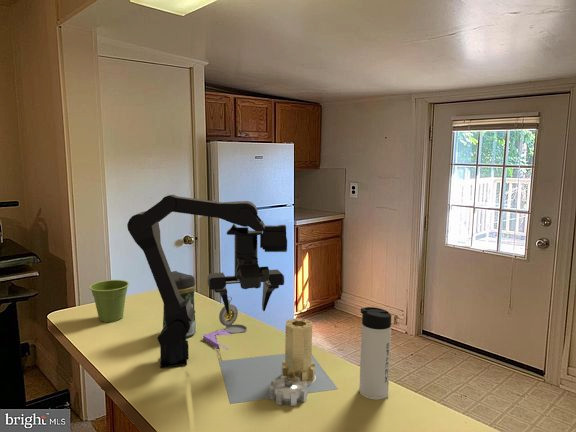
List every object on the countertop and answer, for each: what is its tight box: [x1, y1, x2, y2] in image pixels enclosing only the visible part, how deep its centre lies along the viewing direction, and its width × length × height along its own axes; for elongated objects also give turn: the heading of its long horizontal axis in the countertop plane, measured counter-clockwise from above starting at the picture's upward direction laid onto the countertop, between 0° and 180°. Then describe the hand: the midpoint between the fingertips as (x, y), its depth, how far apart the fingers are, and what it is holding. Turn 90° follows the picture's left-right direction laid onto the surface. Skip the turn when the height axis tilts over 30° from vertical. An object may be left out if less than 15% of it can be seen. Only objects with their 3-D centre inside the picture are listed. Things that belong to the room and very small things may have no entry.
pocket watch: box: [218, 296, 248, 335], centre depth 131 cm, size 8×8×10 cm
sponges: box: [202, 328, 234, 350], centre depth 122 cm, size 7×13×2 cm, turn 42°
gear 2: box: [269, 376, 308, 407], centre depth 93 cm, size 8×8×3 cm
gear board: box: [218, 353, 339, 405], centre depth 102 cm, size 24×20×4 cm
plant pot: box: [89, 279, 130, 323], centre depth 139 cm, size 12×12×11 cm
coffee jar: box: [162, 270, 197, 339], centre depth 127 cm, size 10×8×19 cm
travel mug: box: [358, 306, 392, 401], centre depth 94 cm, size 6×7×20 cm
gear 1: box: [282, 318, 315, 383], centre depth 100 cm, size 8×8×13 cm
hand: (245, 312), depth 110 cm, fingers open, 9 cm apart
